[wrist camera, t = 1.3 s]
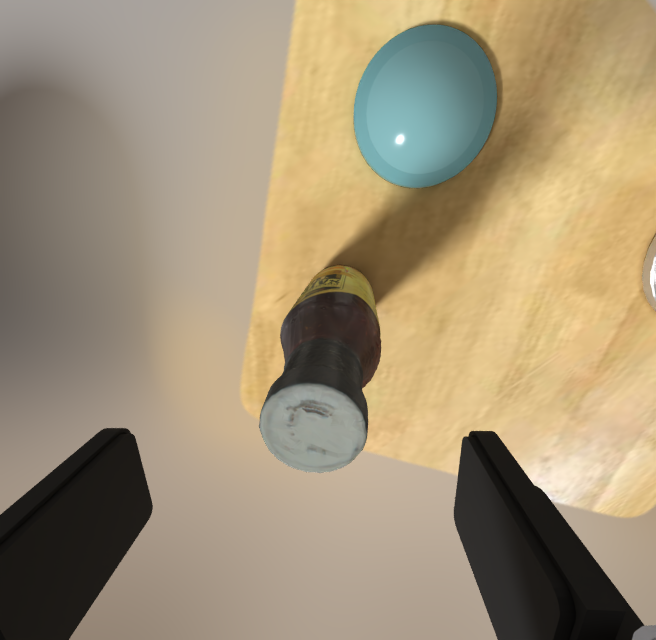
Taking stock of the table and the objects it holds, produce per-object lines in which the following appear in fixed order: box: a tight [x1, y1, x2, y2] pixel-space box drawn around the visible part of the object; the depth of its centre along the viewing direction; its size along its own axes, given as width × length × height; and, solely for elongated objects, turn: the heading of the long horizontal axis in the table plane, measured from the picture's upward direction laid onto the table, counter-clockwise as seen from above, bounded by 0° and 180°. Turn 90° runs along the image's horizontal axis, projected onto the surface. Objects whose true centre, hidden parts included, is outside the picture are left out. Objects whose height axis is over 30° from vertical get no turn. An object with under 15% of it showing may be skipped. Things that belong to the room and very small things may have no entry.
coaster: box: [354, 25, 497, 188], centre depth 24 cm, size 11×11×1 cm
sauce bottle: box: [259, 265, 381, 473], centre depth 20 cm, size 6×6×20 cm
